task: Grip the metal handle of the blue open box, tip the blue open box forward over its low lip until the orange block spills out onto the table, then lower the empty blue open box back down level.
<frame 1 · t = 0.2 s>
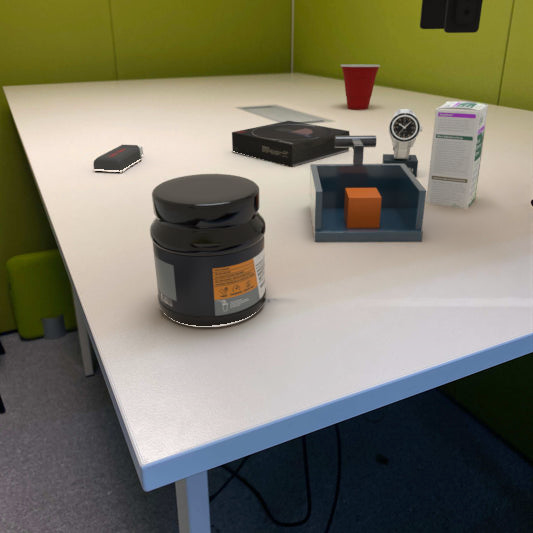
hand: (446, 30, 57), 24 cm above the table, tool pointing down, fingers open, 9 cm apart
block: (361, 222, 70), point 1 cm above the table, touching blue open box
watch: (398, 176, 94), on the table
syrup box: (449, 209, 79), on the table
plastic cup: (357, 108, 156), on the table
black flat cardboard box: (291, 152, 111), on the table
blue open box: (360, 186, 70), point 5 cm above the table, hinge at 0.0°, touching block
usb drive: (122, 165, 103), on the table
supplement container: (213, 307, 54), on the table
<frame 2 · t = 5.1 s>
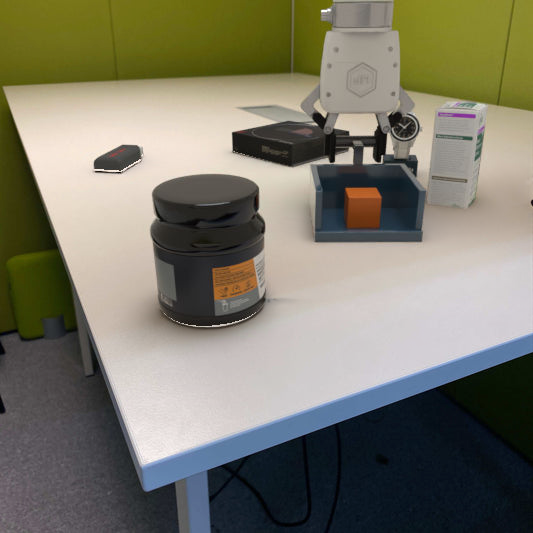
hand: (354, 159, 77), 7 cm above the table, tool pointing down, fingers closed on blue open box, 5 cm apart
blue open box: (360, 186, 70), point 5 cm above the table, hinge at 0.0°, touching block, gripper
everything else where it was.
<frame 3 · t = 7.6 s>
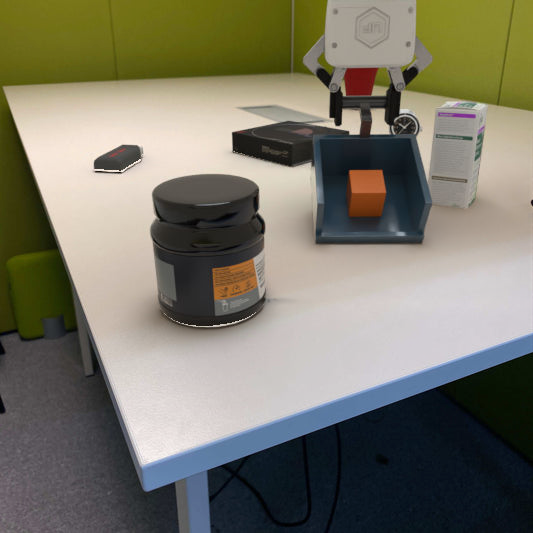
hand: (363, 122, 68), 13 cm above the table, tool pointing down, fingers closed on blue open box, 5 cm apart
block: (363, 205, 68), point 4 cm above the table, tilted 26°, touching blue open box
blue open box: (365, 168, 66), point 9 cm above the table, hinge at 26.0°, touching block, gripper
everything else where it was.
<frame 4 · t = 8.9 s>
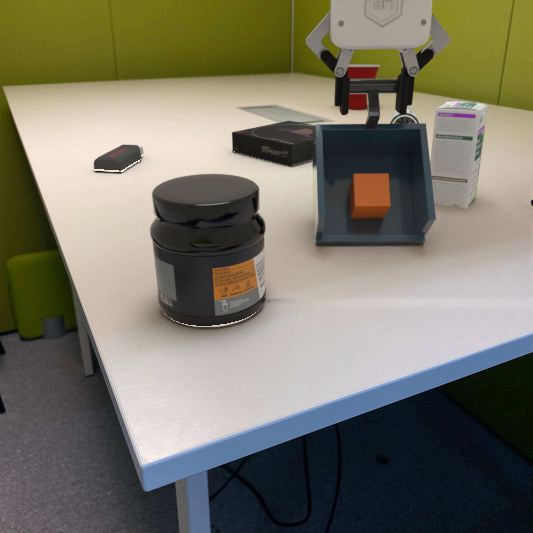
hand: (372, 111, 62), 16 cm above the table, tool pointing down, fingers closed on blue open box, 5 cm apart
block: (366, 202, 66), point 5 cm above the table, tilted 49°
blue open box: (370, 164, 63), point 10 cm above the table, hinge at 45.5°, touching gripper
everything else where it was.
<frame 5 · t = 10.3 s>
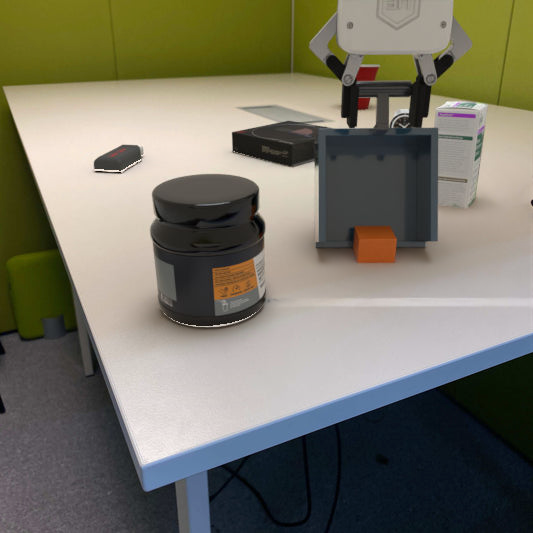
hand: (383, 123, 55), 16 cm above the table, tool pointing down, fingers closed on blue open box, 5 cm apart
block: (375, 232, 60), point 4 cm above the table, tilted 180°
blue open box: (375, 170, 60), point 10 cm above the table, hinge at 66.3°, touching gripper
everything else where it was.
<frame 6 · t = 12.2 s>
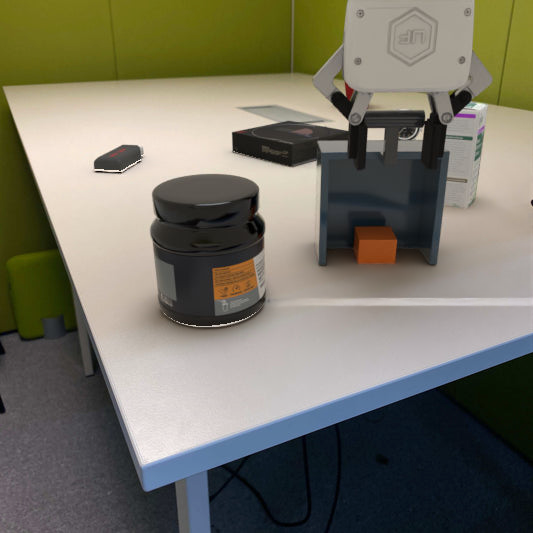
hand: (393, 164, 50), 13 cm above the table, tool pointing down, fingers closed on blue open box, 5 cm apart
blue open box: (379, 188, 57), point 9 cm above the table, hinge at 87.0°, touching gripper
everything else where it was.
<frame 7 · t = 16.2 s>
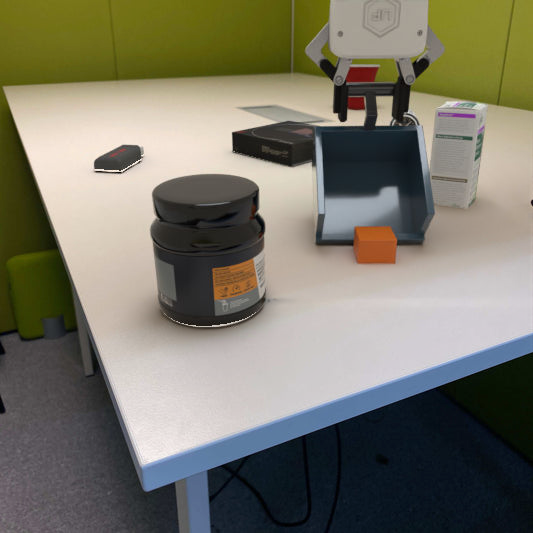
hand: (369, 118, 63), 15 cm above the table, tool pointing down, fingers closed on blue open box, 5 cm apart
blue open box: (368, 164, 64), point 10 cm above the table, hinge at 39.5°, touching gripper
everything else where it was.
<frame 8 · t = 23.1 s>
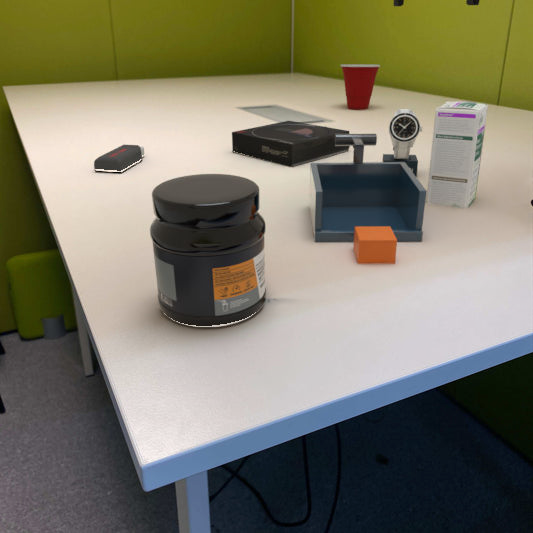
hand: (435, 5, 72), 26 cm above the table, tool pointing down, fingers open, 9 cm apart
blue open box: (360, 185, 70), point 6 cm above the table, hinge at 1.0°
everything else where it was.
at the end: block inside the target area (6.2 cm from its centre), point 4.0 cm above the table; blue open box reached +87° during the clip, +1° at the end; blue open box at +1° (first picture: +0°) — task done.
